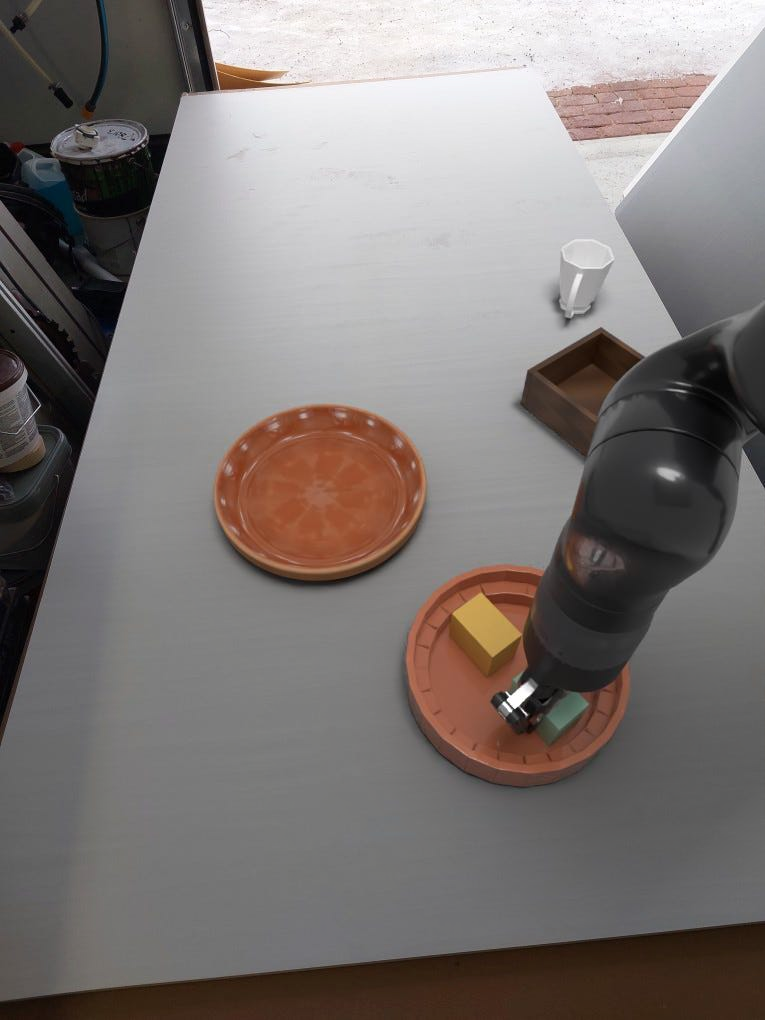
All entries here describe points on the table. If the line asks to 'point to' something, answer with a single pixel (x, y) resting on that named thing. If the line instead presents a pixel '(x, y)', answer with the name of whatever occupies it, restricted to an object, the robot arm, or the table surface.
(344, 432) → the saucer
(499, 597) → the bowl
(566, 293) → the cup
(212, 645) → the table surface
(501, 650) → the yellow block
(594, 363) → the holder
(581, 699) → the mint green block
